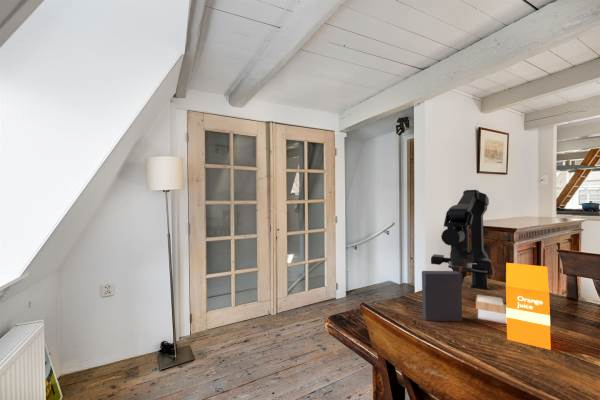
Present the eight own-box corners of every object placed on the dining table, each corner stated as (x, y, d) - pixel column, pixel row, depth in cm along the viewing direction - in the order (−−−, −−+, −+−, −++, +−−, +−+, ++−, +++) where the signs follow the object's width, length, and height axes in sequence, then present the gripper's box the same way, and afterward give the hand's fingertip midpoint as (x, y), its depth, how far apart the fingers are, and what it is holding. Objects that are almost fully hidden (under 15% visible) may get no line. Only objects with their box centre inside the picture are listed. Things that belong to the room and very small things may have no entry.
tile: (476, 294, 101) (503, 297, 97) (476, 301, 101) (503, 305, 97) (475, 300, 94) (504, 305, 90) (475, 308, 94) (505, 313, 90)
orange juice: (508, 328, 80) (506, 260, 80) (549, 338, 74) (547, 264, 75) (506, 339, 74) (505, 265, 74) (551, 350, 68) (549, 270, 69)
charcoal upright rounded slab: (456, 316, 89) (455, 270, 89) (463, 322, 85) (462, 273, 85) (421, 315, 90) (420, 270, 90) (426, 321, 86) (425, 273, 86)
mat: (478, 301, 102) (478, 300, 102) (534, 309, 94) (534, 308, 94) (477, 318, 87) (477, 317, 87) (544, 330, 78) (544, 329, 78)
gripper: (428, 243, 99) (429, 287, 98) (491, 247, 88) (492, 296, 88) (432, 239, 108) (433, 279, 108) (490, 242, 98) (491, 286, 98)
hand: (460, 285), depth 100 cm, fingers closed
